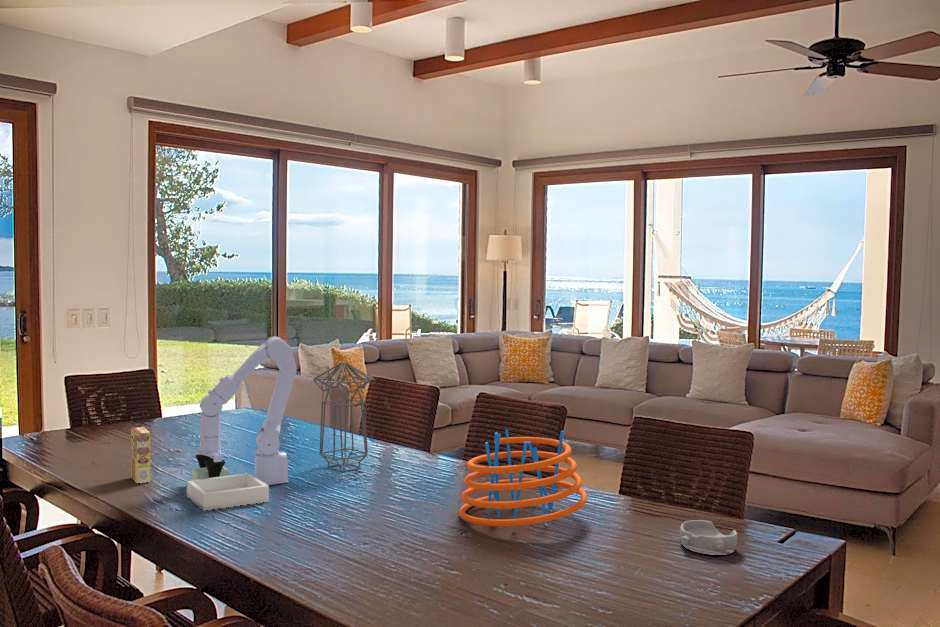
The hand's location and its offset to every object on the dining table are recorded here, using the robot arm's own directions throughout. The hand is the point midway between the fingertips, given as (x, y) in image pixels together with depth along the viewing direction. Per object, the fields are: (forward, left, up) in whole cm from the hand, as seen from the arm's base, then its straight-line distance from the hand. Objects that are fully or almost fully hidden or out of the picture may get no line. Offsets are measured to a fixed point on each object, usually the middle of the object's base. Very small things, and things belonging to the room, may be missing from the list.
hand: (209, 481), depth 242 cm
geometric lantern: (-44, -2, -2) cm, 44 cm away
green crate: (0, 0, -1) cm, 1 cm away
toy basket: (-62, +71, -2) cm, 94 cm away
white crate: (0, +16, -1) cm, 16 cm away
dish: (-87, +112, -2) cm, 142 cm away
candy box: (+16, -16, -2) cm, 23 cm away
